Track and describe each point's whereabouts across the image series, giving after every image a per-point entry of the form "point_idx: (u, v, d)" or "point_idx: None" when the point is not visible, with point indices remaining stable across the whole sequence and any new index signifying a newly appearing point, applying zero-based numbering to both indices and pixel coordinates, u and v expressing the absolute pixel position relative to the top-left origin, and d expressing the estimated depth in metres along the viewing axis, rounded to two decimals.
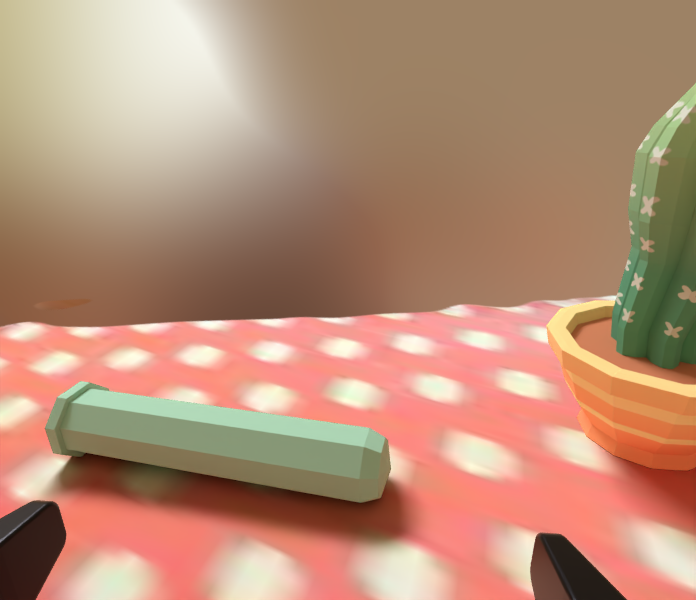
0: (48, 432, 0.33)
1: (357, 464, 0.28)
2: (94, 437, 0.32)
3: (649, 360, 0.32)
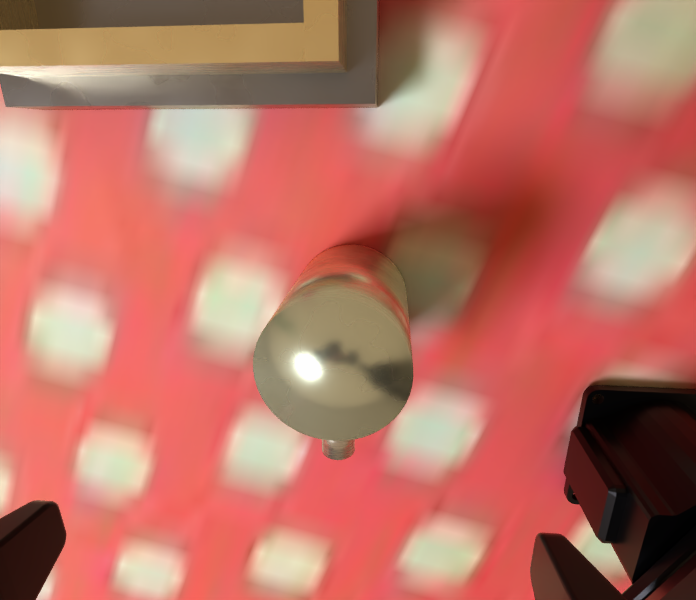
0: None
1: None
2: None
3: None
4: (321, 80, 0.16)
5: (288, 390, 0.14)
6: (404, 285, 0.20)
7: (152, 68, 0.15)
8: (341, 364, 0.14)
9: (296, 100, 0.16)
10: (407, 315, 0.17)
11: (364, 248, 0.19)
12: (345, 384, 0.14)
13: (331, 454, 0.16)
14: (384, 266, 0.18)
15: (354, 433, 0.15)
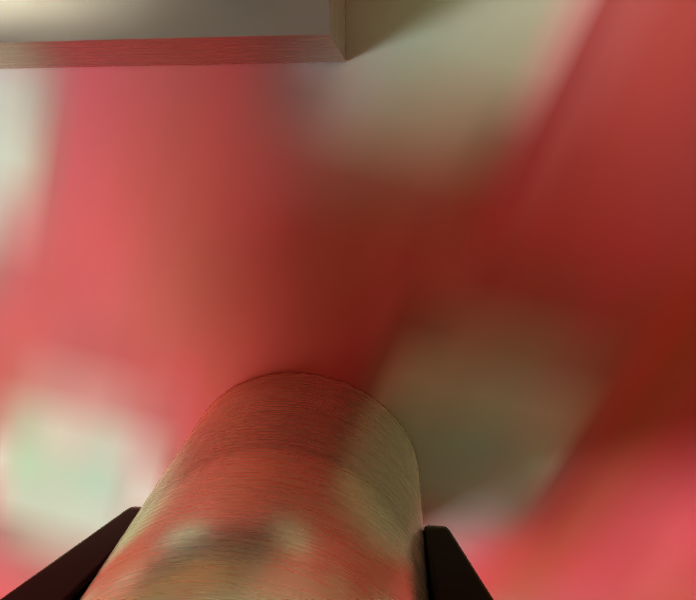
0: None
1: None
2: None
3: None
4: None
5: None
6: (414, 464, 0.09)
7: None
8: None
9: (91, 27, 0.05)
10: None
11: (324, 387, 0.09)
12: None
13: None
14: (368, 454, 0.07)
15: None
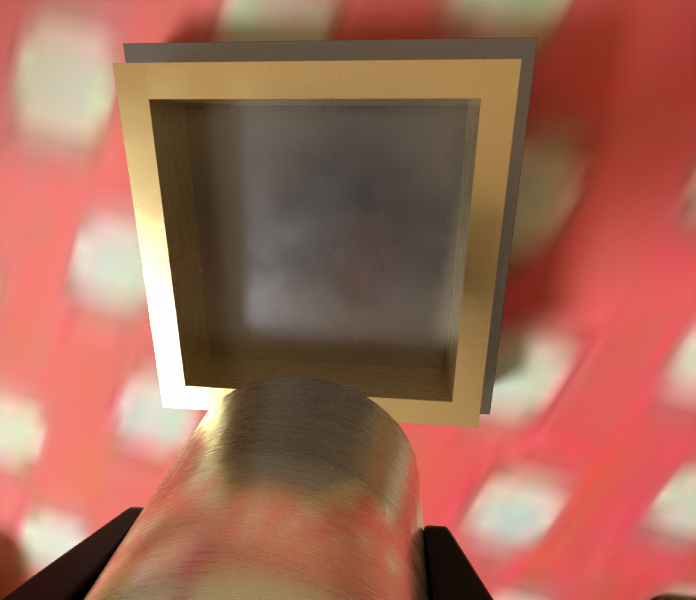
0: None
1: None
2: None
3: None
4: None
5: None
6: (414, 467, 0.09)
7: None
8: None
9: None
10: None
11: (324, 391, 0.09)
12: None
13: None
14: (368, 458, 0.07)
15: None
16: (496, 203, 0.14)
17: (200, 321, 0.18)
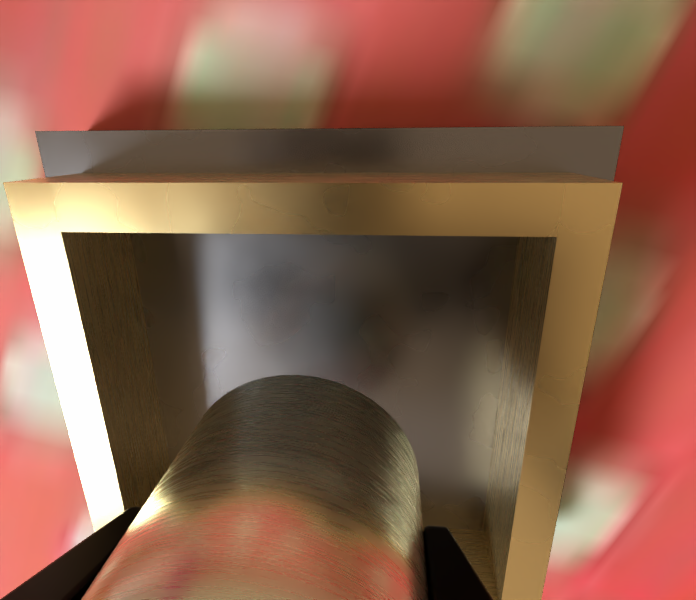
0: None
1: None
2: None
3: None
4: None
5: None
6: (414, 466, 0.09)
7: None
8: None
9: None
10: None
11: (324, 390, 0.09)
12: None
13: None
14: (367, 457, 0.07)
15: None
16: (573, 375, 0.10)
17: None
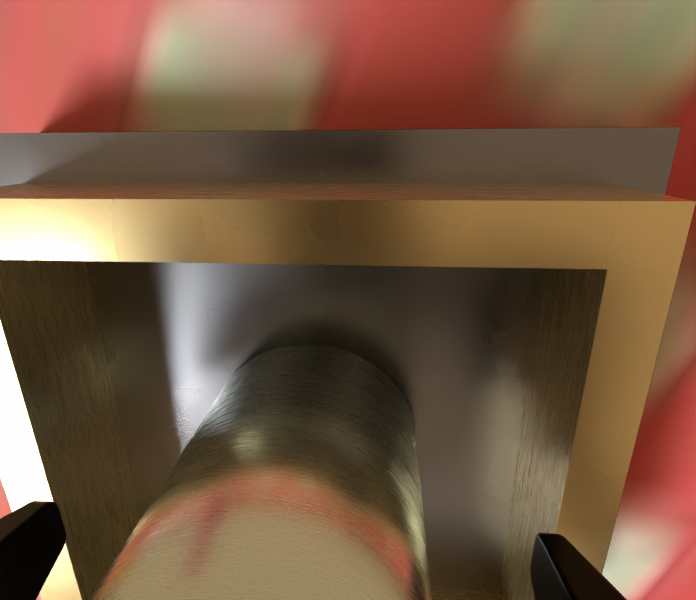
0: None
1: None
2: None
3: None
4: None
5: None
6: (411, 422, 0.10)
7: None
8: None
9: None
10: (424, 552, 0.07)
11: (333, 356, 0.10)
12: None
13: None
14: (372, 409, 0.09)
15: None
16: (621, 437, 0.08)
17: (127, 535, 0.12)
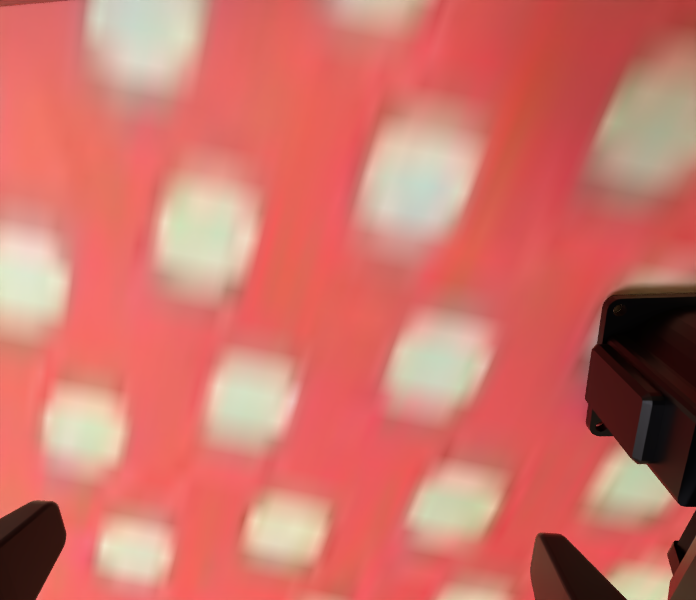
0: None
1: None
2: None
3: None
4: None
5: None
6: None
7: None
8: None
9: None
10: None
11: None
12: None
13: None
14: None
15: None
16: None
17: None
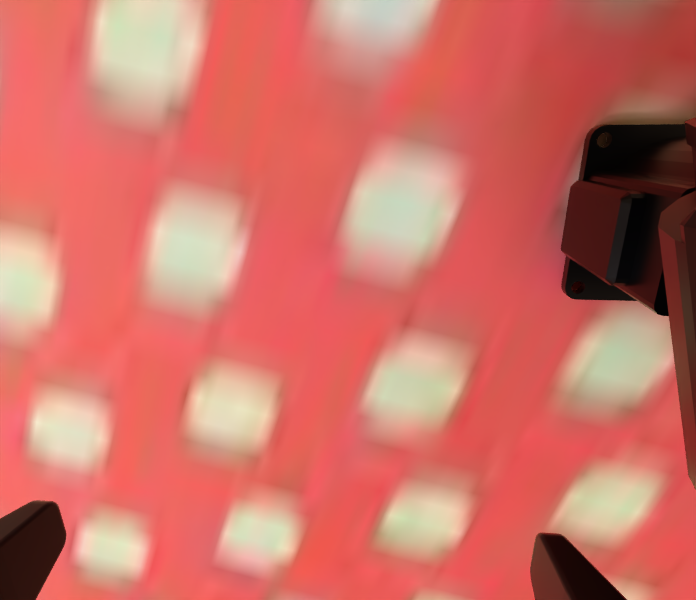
0: None
1: None
2: None
3: None
4: None
5: None
6: None
7: None
8: None
9: None
10: None
11: None
12: None
13: None
14: None
15: None
16: None
17: None
